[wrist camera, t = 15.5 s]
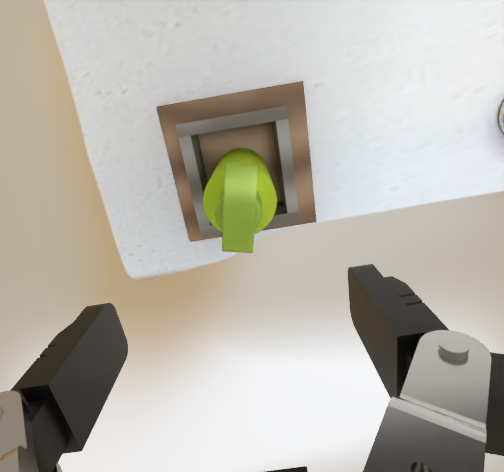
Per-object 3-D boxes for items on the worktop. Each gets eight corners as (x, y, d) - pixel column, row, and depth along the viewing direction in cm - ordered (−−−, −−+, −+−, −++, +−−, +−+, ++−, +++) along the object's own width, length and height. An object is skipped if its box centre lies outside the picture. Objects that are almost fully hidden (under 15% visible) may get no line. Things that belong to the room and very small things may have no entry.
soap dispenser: (269, 139, 37) (294, 168, 18) (265, 199, 39) (282, 278, 21) (217, 136, 37) (188, 161, 18) (216, 196, 39) (189, 274, 20)
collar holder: (158, 106, 36) (143, 106, 31) (301, 82, 36) (311, 76, 30) (191, 238, 42) (182, 258, 36) (314, 219, 41) (325, 236, 36)
